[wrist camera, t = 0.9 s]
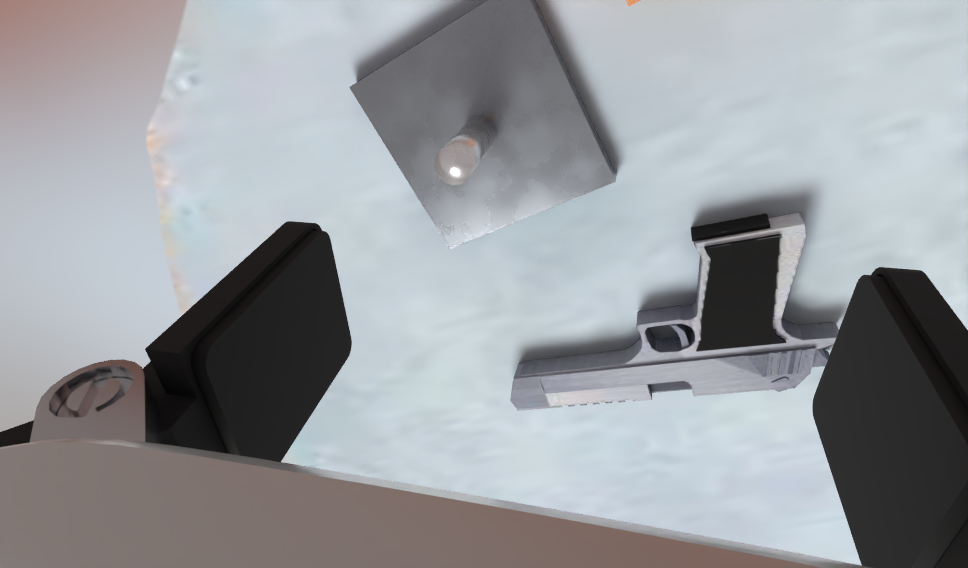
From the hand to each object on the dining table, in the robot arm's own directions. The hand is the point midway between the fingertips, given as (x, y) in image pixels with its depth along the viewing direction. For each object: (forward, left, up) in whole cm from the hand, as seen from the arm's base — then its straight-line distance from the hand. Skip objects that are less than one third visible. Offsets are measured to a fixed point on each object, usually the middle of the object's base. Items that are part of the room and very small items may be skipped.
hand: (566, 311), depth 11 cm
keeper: (+10, 0, -25) cm, 27 cm away
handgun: (+6, +16, -25) cm, 31 cm away
